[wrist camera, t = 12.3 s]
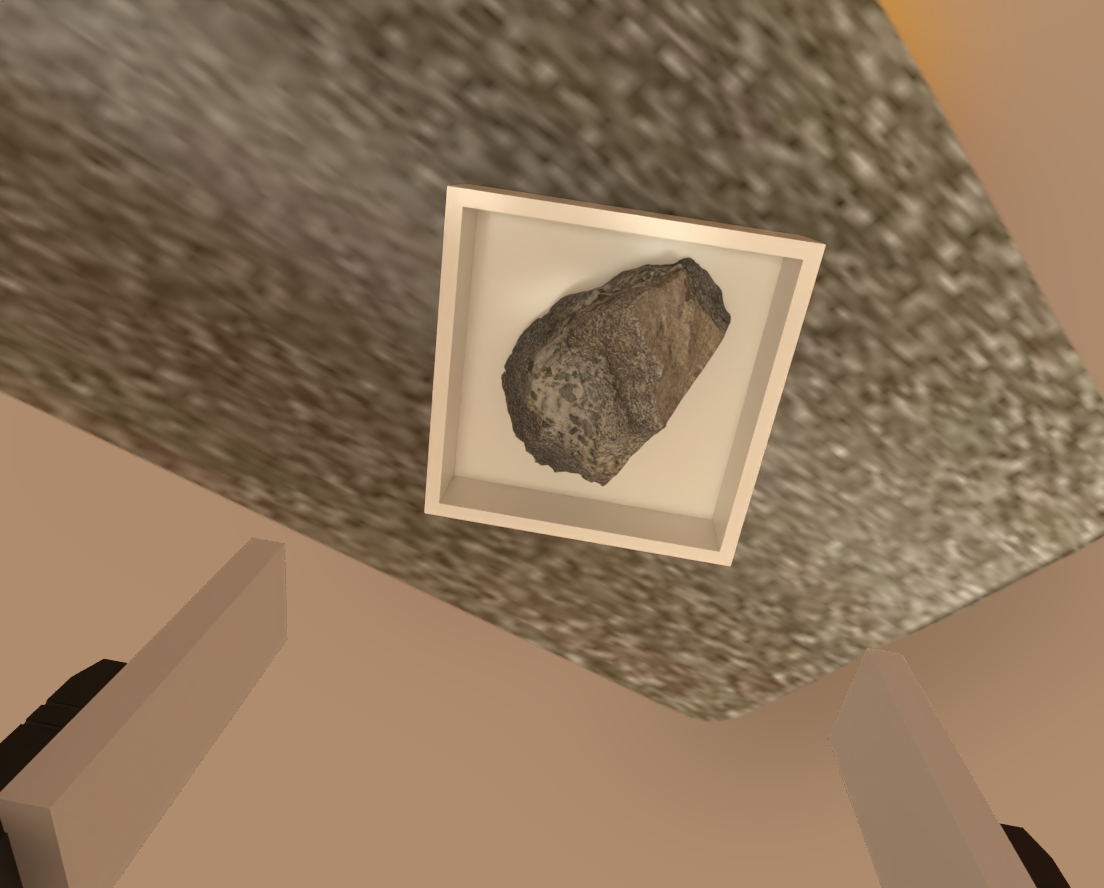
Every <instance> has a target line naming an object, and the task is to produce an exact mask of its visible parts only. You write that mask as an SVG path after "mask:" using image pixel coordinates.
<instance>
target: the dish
mask: <svg viewBox="0 0 1104 888" xmlns="http://www.w3.org/2000/svg"><path fill="white" fill-rule="evenodd" d="M825 246H826V244H823V243H821V242H818V241H815V240H813V239H810V238H807V237H805V236H802V235H796V234H790V233H783V232H777V231H770V230H764V229H757V228H751V227H744V226H738V225H731V224H725V223H719V222H712V221H706V220H699V219H693V218H686V217H680V216H673V215H667V214H660V213H654V212H648V211H641V210H635V209H628V208H622V207H615V206H609V205H602V204H596V203H589V202H583V201H576V200H570V199H564V198H557V197H551V196H544V195H538V194H531V193H525V192H518V191H512V190H505V189H499V188H492V187H486V186H480V185H473V184H460V185H450V186H447V197H446V211H445V225H444V240H443V254H442V268H441V282H440V297H439V311H438V325H437V340H436V354H435V368H434V382H433V397H432V411H431V425H430V439H429V454H428V468H427V482H426V496H425V511H424V513H426V514H432V515H438V516H444V517H449V518H455V519H461V520H467V521H472V522H478V523H484V524H490V525H495V526H501V527H507V528H513V529H519V530H524V531H530V532H536V533H542V534H547V535H553V536H559V537H565V538H570V539H576V540H582V541H588V542H593V543H599V544H605V545H611V546H616V547H622V548H628V549H634V550H639V551H645V552H651V553H657V554H662V555H668V556H674V557H680V558H685V559H691V560H697V561H703V562H708V563H714V564H720V565H726V566H731V563H732V560H733V556H734V553H735V550H736V546H737V543H738V539H739V536H740V533H741V529H742V526H743V523H744V519H745V516H746V512H747V509H748V506H749V502H750V499H751V496H752V492H753V489H754V486H755V482H756V479H757V475H758V472H759V469H760V465H761V462H762V459H763V455H764V452H765V448H766V445H767V442H768V438H769V435H770V432H771V428H772V425H773V421H774V418H775V415H776V411H777V408H778V405H779V401H780V398H781V395H782V391H783V388H784V384H785V381H786V378H787V374H788V371H789V368H790V364H791V361H792V357H793V354H794V351H795V347H796V344H797V341H798V337H799V334H800V331H801V327H802V324H803V320H804V317H805V314H806V310H807V307H808V304H809V300H810V297H811V293H812V290H813V287H814V283H815V280H816V277H817V273H818V270H819V266H820V263H821V260H822V256H823V253H824V250H825ZM689 257H690V258H691V259H693V260H694V261H695V262H696V263H698V264H699V266H700V267H701V268H702V269H705V270H707V272H708V273H709V275H710V276H711V278H712V279H713V281H714V282H715V284H717V285H718V286H719V287H720V289H721V290H722V296H723V302H724V306H725V308H726V310H727V312H728V313H729V314H730V316H731V322H730V324H729V326H728V329H727V331H726V333H725V336H724V338H723V340H722V341H721V343H720V345H719V346H718V348H717V349H716V351H715V353H714V354H713V356H712V357H711V359H710V360H709V361H708V363H707V364H706V366H705V367H704V369H703V370H702V372H701V373H700V375H699V376H698V377H697V379H696V380H695V381H694V383H693V384H692V386H691V387H690V389H689V390H688V392H687V393H686V394H685V396H684V397H683V398H682V400H681V401H680V403H679V405H678V406H677V408H676V410H675V412H674V413H673V414H672V416H671V417H670V419H669V420H668V422H667V424H666V427H665V428H664V429H662V430H661V431H660V432H659V433H657V434H655V435H654V436H653V437H651V438H650V439H649V440H648V441H647V442H646V443H645V444H644V445H643V446H642V447H641V448H640V449H639V450H638V451H637V452H636V453H635V454H634V455H633V456H631V457H630V458H629V460H628V461H627V463H626V464H625V466H624V467H623V468H622V469H621V471H620V472H619V473H618V474H617V475H616V476H615V477H613V478H612V479H611V480H610V481H609V482H608V483H607V485H605V486H601V485H600V484H599V483H596V482H592V483H591V482H589V481H587V480H585V479H583V478H582V476H581V475H580V474H576V473H569V472H556V473H555V472H554V470H553V469H552V468H551V467H550V466H549V465H543V466H542V465H540V464H539V463H536V462H535V459H534V457H533V456H532V455H531V454H529V453H528V452H526V451H525V445H524V442H522V441H521V440H519V439H518V438H517V437H515V433H514V432H513V429H512V422H511V418H510V415H509V413H508V411H507V404H506V400H505V399H506V396H505V392H504V390H503V388H502V379H501V375H502V374H503V373H504V372H506V370H505V368H504V365H505V363H506V361H507V359H508V357H509V355H511V354H512V350H513V348H514V346H515V344H516V343H517V341H518V339H519V337H520V335H521V334H523V331H524V330H525V329H527V328H528V327H529V326H530V325H531V324H532V323H533V321H535V320H536V319H538V318H542V317H543V316H544V315H545V314H547V313H548V312H549V311H550V308H551V307H552V306H553V305H554V304H555V303H556V302H558V301H559V300H560V299H561V298H563V297H565V296H567V295H569V294H575V293H579V292H583V291H590V290H593V289H595V288H597V287H601V286H603V285H604V284H605V283H607V282H609V281H610V280H611V279H612V278H613V277H615V276H616V275H618V274H619V273H621V272H622V271H628V270H631V269H635V268H638V267H641V266H644V265H646V264H651V265H664V264H668V265H669V264H674V263H676V262H678V261H679V260H682V259H683V258H689Z"/></svg>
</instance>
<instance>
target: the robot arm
mask: <svg viewBox="0 0 1104 888" xmlns="http://www.w3.org/2000/svg"><path fill="white" fill-rule="evenodd" d="M285 570H286V569H285V544H284V543H279V542H273V541H268V540H261V539H256V538H251V539H250V540H249V541H248V542H247V543H246V544H245V545H244V546H243V547H242V548H241V549H240V550H239V551H238V553H236V554H235V555H234V556H233V557H232V558H231V559H230V560H229V561H228V562H227V564H225V566H224V567H223V568H221V570H220V571H218V573H217V574H216V575H215V576H214V577H213V578H212V579H211V580H210V581H209V582H208V583H207V584H206V585H205V586H204V587H203V588H202V589H201V590H200V591H199V592H198V593H197V594H196V595H195V596H194V597H193V598H192V599H191V600H190V601H189V602H188V603H187V604H186V605H185V606H184V607H183V608H182V609H181V610H180V611H179V612H178V613H177V614H176V615H175V616H174V617H173V618H172V619H171V620H170V621H169V622H168V623H167V624H166V625H165V626H164V627H163V628H162V629H161V630H160V631H159V632H158V633H157V634H156V635H155V636H154V637H153V638H152V640H150V642H148V643H147V644H146V646H144V647H143V648H142V649H141V650H140V651H139V652H138V653H137V654H136V655H135V656H134V657H133V659H131V660H130V662H129V663H124V662H119V661H113V660H108V659H103V660H101V661H99V662H97V663H96V664H94V665H92V666H90V667H88V668H87V669H85V670H83V671H81V672H79V673H78V674H76V675H74V676H72V677H71V678H70V679H69V680H68V681H67V682H66V683H65V684H64V685H62V686H61V687H60V688H59V689H58V690H57V691H56V692H55V693H54V694H53V695H52V696H51V697H50V698H48V700H47V702H46V704H45V705H41V706H40V707H39V708H38V709H37V710H36V711H34V712H33V713H32V714H31V715H30V716H29V717H28V718H27V719H26V722H25V724H20V725H19V726H18V727H17V728H16V729H15V730H14V731H13V732H12V733H11V734H10V735H9V736H8V737H7V738H5V739H4V740H3V741H2V742H1V743H0V888H113V887H114V886H115V884H116V883H117V881H118V880H119V878H120V877H121V876H122V874H123V873H124V871H125V870H126V868H127V867H128V866H129V864H130V863H131V861H132V860H133V859H134V857H135V856H136V854H137V853H138V851H139V850H140V849H141V847H142V846H143V844H144V843H145V841H146V840H147V839H148V837H149V836H150V834H151V833H152V831H153V830H154V829H155V827H156V826H157V824H158V823H159V822H160V820H161V819H162V817H163V816H164V814H165V813H166V812H167V810H168V809H169V807H170V806H171V804H172V803H173V802H174V800H175V799H176V797H177V796H178V794H179V793H180V792H181V790H182V788H183V787H184V786H185V785H186V783H187V782H188V780H189V779H190V777H191V776H192V774H193V773H194V772H195V770H196V769H197V767H198V766H199V764H200V763H201V762H202V760H203V759H204V757H205V756H206V755H207V753H208V752H209V750H210V749H211V747H212V746H213V745H214V743H215V742H216V740H217V739H218V738H219V736H220V734H221V733H222V732H223V730H224V729H225V728H226V726H227V725H228V723H229V722H230V720H231V719H232V718H233V716H234V715H235V713H236V712H237V710H238V709H239V708H240V706H241V705H242V703H243V702H244V700H245V699H246V698H247V696H248V695H249V693H250V692H251V691H252V689H253V687H254V686H255V685H256V683H257V682H258V681H259V679H260V678H261V676H262V675H263V673H264V672H265V671H266V669H267V668H268V666H269V665H270V663H271V662H272V661H273V659H274V658H275V656H276V655H277V653H278V652H279V651H280V649H281V648H282V646H283V645H284V644H285V642H286V641H287V612H286V611H287V609H286V571H285ZM828 741H829V743H830V746H831V749H832V752H833V755H834V757H835V760H836V763H837V765H838V768H839V771H840V774H841V777H842V779H843V782H844V785H845V788H846V791H847V793H848V796H849V799H850V802H851V804H852V807H853V810H854V813H855V815H856V818H857V821H858V824H859V826H860V829H861V832H862V834H863V837H864V840H865V842H866V846H867V848H868V851H869V854H870V857H871V859H872V862H873V865H874V868H875V871H876V874H877V876H878V879H879V882H880V885H881V887H882V888H1070V886H1069V884H1068V883H1067V881H1066V880H1065V878H1064V876H1063V875H1062V873H1061V872H1060V870H1059V868H1058V867H1057V865H1056V864H1055V862H1054V861H1053V859H1052V858H1051V857H1050V856H1049V854H1048V853H1047V852H1046V851H1045V850H1044V849H1043V848H1042V847H1041V846H1040V845H1039V844H1038V843H1037V842H1036V841H1035V840H1034V839H1033V838H1032V837H1031V836H1030V835H1029V834H1028V833H1027V832H1026V831H1025V830H1024V829H1023V828H1021V827H1015V826H1010V825H1005V824H1000V823H999V822H998V820H997V818H996V817H995V815H994V813H993V811H992V809H991V808H990V806H989V804H988V802H987V801H986V799H985V797H984V795H983V794H982V792H981V790H980V789H979V787H978V785H977V783H976V782H975V780H974V778H973V776H972V775H971V773H970V771H969V769H968V768H967V766H966V764H965V763H964V761H963V759H962V757H961V756H960V754H959V752H958V750H957V749H956V747H955V745H954V743H953V742H952V740H951V738H950V737H949V735H948V733H947V731H946V730H945V728H944V726H943V724H942V723H941V721H940V719H939V717H938V716H937V714H936V712H935V711H934V709H933V707H932V705H931V704H930V702H929V700H928V698H927V697H926V695H925V693H924V691H923V690H922V688H921V687H920V684H919V683H918V681H917V679H916V677H915V676H914V674H913V672H912V671H911V669H910V668H909V665H908V664H907V662H906V660H905V659H904V657H903V655H902V654H900V653H894V652H889V651H883V650H878V649H872V648H866V651H865V653H864V655H863V658H862V660H861V663H860V665H859V667H858V669H857V672H856V674H855V676H854V679H853V681H852V683H851V686H850V688H849V690H848V693H847V695H846V697H845V700H844V702H843V705H842V707H841V709H840V711H839V714H838V716H837V718H836V721H835V723H834V725H833V728H832V730H831V732H830V735H829V737H828Z"/></svg>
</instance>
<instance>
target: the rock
mask: <svg viewBox="0 0 1104 888" xmlns="http://www.w3.org/2000/svg"><path fill="white" fill-rule="evenodd" d="M730 322H731V316H730V314H729V313H728V312H727V310H726V308H725V306H724V302H723V296H722V290H721V289H720V287H719V286H718V285H717V284H715V282H714V281H713V279H712V278H711V276H710V275H709V273H708V272H707V270H705V269H702V268H701V267H700V266H699V264H698V263H696V262H695V261H694V260H693V259H691V258H690V257H689V258H683V259H682V260H679V261H678V262H676V263H674V264H669V265H668V264H664V265H651V264H646V265H644V266H641V267H638V268H635V269H631V270H628V271H622V272H621V273H619V274H618V275H616V276H615V277H613V278H612V279H611V280H610V281H609V282H607V283H605V284H604V285H603V286H601V287H597V288H595V289H593V290H590V291H583V292H579V293H575V294H569V295H567V296H565V297H563V298H561V299H560V300H559V301H558V302H556V303H555V304H554V305H553V306H552V307H551V308H550V311H549V312H548V313H547V314H545V315H544V316H543V317H542V318H538V319H536V320H535V321H533V323H532V324H531V325H530V326H529V327H528V328H527V329H525V330H524V331H523V334H521V335H520V337H519V339H518V341H517V343H516V344H515V346H514V348H513V350H512V354H511V355H509V357H508V359H507V361H506V363H505V365H504V368H505V370H506V372H504V373H503V374H502V375H501V379H502V388H503V390H504V392H505V396H506V399H505V400H506V404H507V411H508V413H509V415H510V418H511V422H512V429H513V432H514V433H515V437H517V438H518V439H519V440H521V441H522V442H524V445H525V451H526V452H528V453H529V454H531V455H532V456H533V457H534V459H535V462H536V463H539V464H540V465H542V466H543V465H549V466H550V467H551V468H552V469H553V470H554V472H555V473H556V472H569V473H576V474H580V475H581V476H582V478H583V479H585V480H587V481H589V482H591V483H592V482H596V483H599V484H600V485H601V486H605V485H607V483H608V482H609V481H610V480H611V479H612V478H613V477H615V476H616V475H617V474H618V473H619V472H620V471H621V469H622V468H623V467H624V466H625V464H626V463H627V461H628V460H629V458H630V457H631V456H633V455H634V454H635V453H636V452H637V451H638V450H639V449H640V448H641V447H642V446H643V445H644V444H645V443H646V442H647V441H648V440H649V439H650V438H651V437H653V436H654V435H655V434H657V433H659V432H660V431H661V430H662V429H664V428H665V427H666V424H667V422H668V420H669V419H670V417H671V416H672V414H673V413H674V412H675V410H676V408H677V406H678V405H679V403H680V401H681V400H682V398H683V397H684V396H685V394H686V393H687V392H688V390H689V389H690V387H691V386H692V384H693V383H694V381H695V380H696V379H697V377H698V376H699V375H700V373H701V372H702V370H703V369H704V367H705V366H706V364H707V363H708V361H709V360H710V359H711V357H712V356H713V354H714V353H715V351H716V349H717V348H718V346H719V345H720V343H721V341H722V340H723V338H724V336H725V333H726V331H727V329H728V326H729V324H730Z"/></svg>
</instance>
